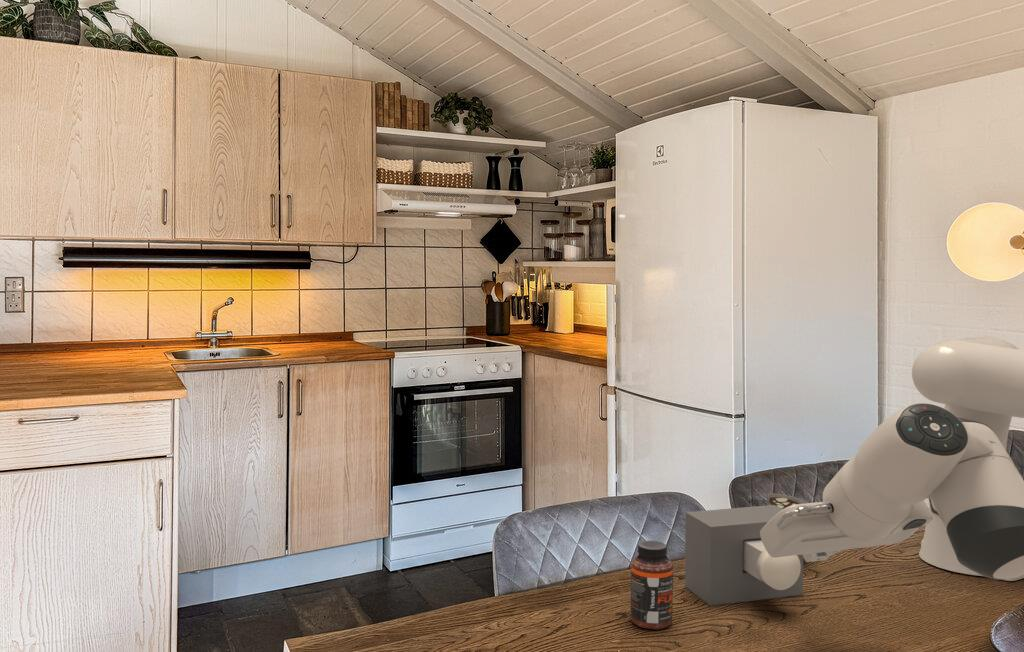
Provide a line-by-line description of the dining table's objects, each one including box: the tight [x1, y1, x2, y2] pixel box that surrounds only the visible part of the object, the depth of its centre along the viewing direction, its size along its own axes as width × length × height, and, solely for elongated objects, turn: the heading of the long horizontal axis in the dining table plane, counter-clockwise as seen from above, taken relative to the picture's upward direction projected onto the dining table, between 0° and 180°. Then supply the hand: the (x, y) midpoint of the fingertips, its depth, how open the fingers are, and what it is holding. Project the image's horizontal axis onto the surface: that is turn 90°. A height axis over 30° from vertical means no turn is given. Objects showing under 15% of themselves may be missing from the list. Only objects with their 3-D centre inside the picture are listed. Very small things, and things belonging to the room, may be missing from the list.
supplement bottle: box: [630, 540, 674, 631], centre depth 112 cm, size 6×6×11 cm
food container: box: [767, 492, 806, 509], centre depth 138 cm, size 12×6×10 cm, turn 168°
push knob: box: [743, 538, 801, 590], centre depth 117 cm, size 6×8×6 cm
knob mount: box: [684, 505, 804, 607], centre depth 124 cm, size 16×8×12 cm, turn 105°
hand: (812, 556), depth 106 cm, fingers closed
